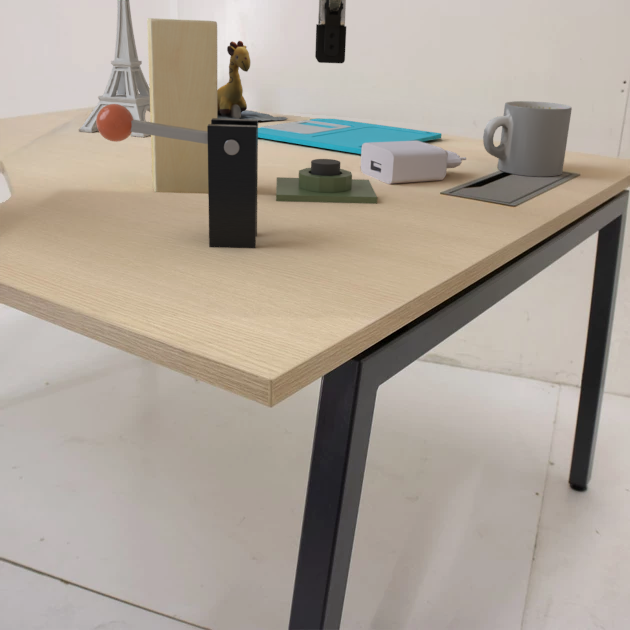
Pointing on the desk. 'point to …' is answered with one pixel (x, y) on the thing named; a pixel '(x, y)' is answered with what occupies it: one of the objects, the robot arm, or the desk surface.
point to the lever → (140, 126)
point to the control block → (325, 188)
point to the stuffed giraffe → (237, 89)
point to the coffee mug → (530, 138)
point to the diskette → (340, 134)
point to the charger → (406, 161)
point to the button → (325, 167)
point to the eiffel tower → (124, 75)
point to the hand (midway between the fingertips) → (329, 59)
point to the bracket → (232, 182)
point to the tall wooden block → (181, 99)
